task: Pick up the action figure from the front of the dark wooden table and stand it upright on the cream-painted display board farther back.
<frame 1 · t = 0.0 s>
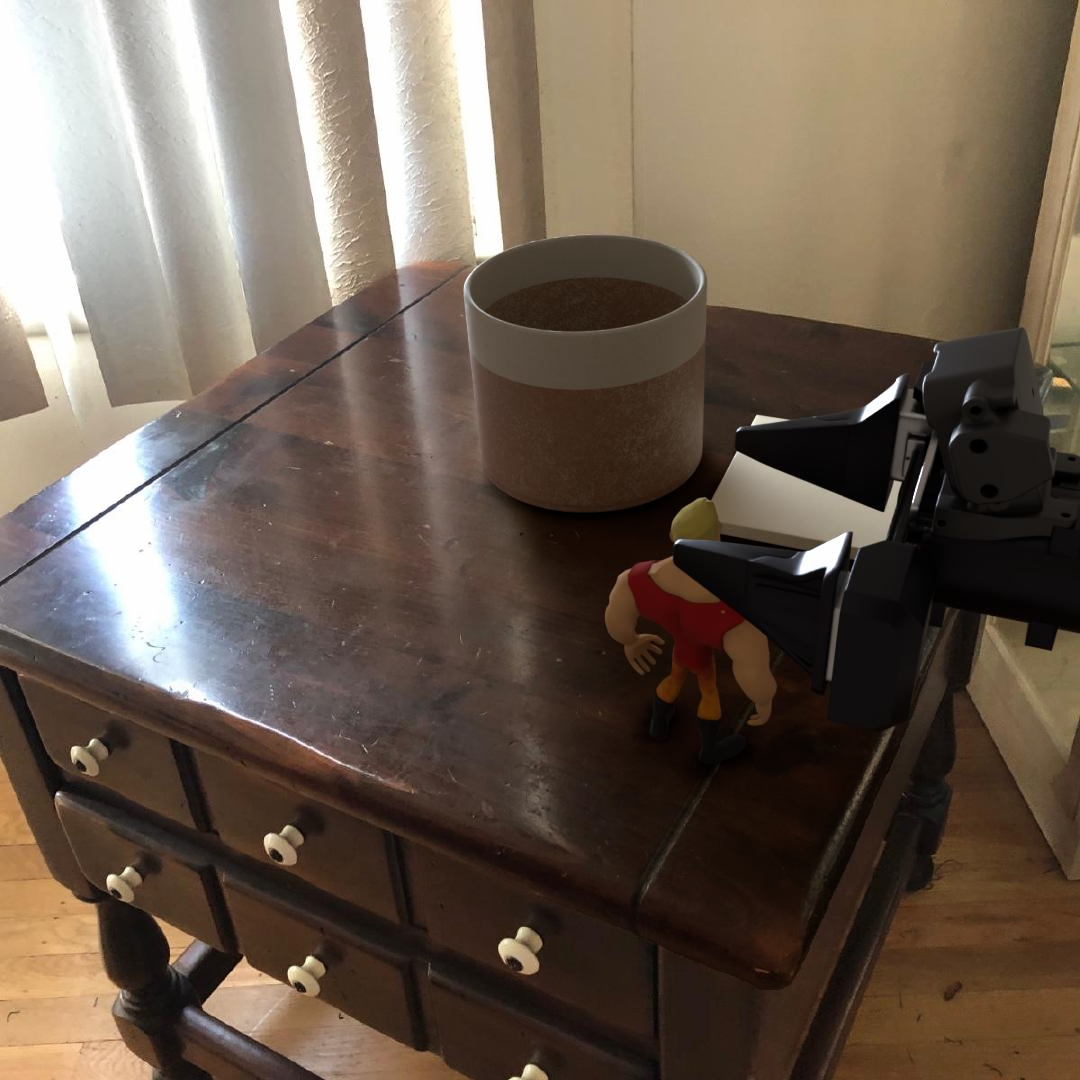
hand: (706, 491, 50), 16 cm above the table, tool horizontal, fingers open, 9 cm apart
display board: (816, 490, 78), on the table
action figure: (692, 741, 60), on the table
planter: (591, 460, 83), on the table
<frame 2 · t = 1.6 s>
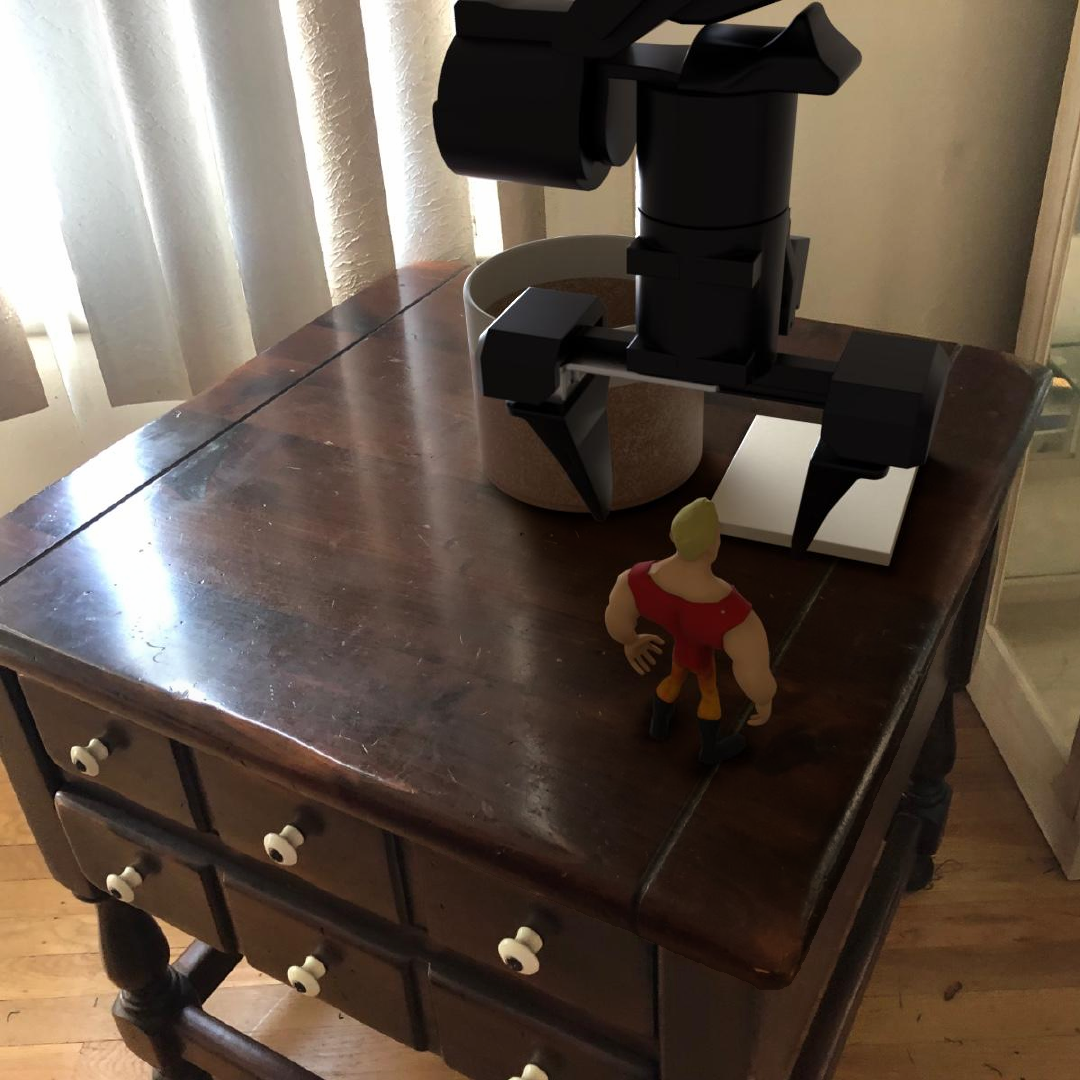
hand: (697, 535, 53), 13 cm above the table, tool pointing down, fingers open, 9 cm apart
nothing on the table moved.
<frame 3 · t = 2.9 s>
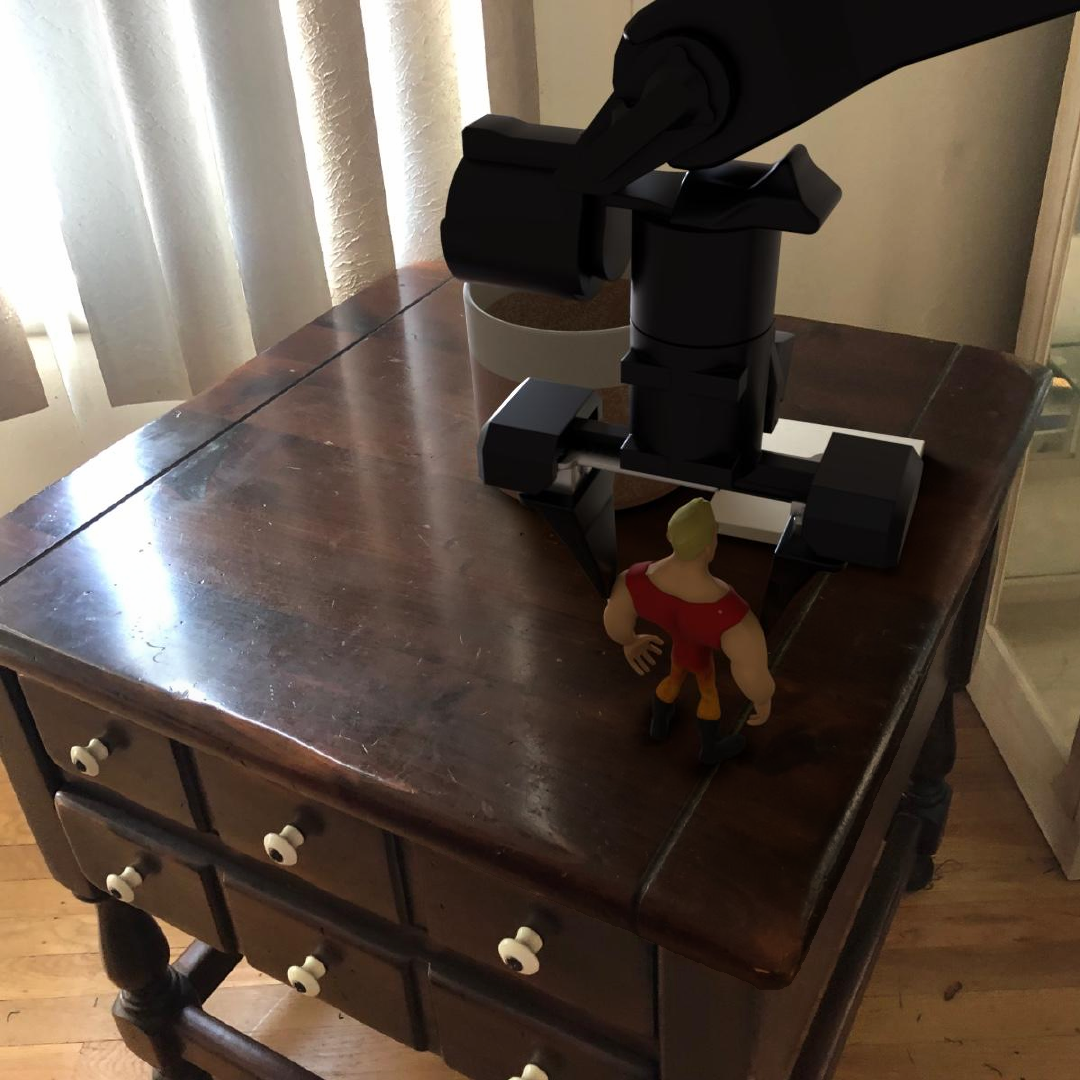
hand: (685, 612, 56), 8 cm above the table, tool pointing down, fingers closed on action figure, 7 cm apart
action figure: (692, 741, 60), on the table, touching gripper
everything else where it was.
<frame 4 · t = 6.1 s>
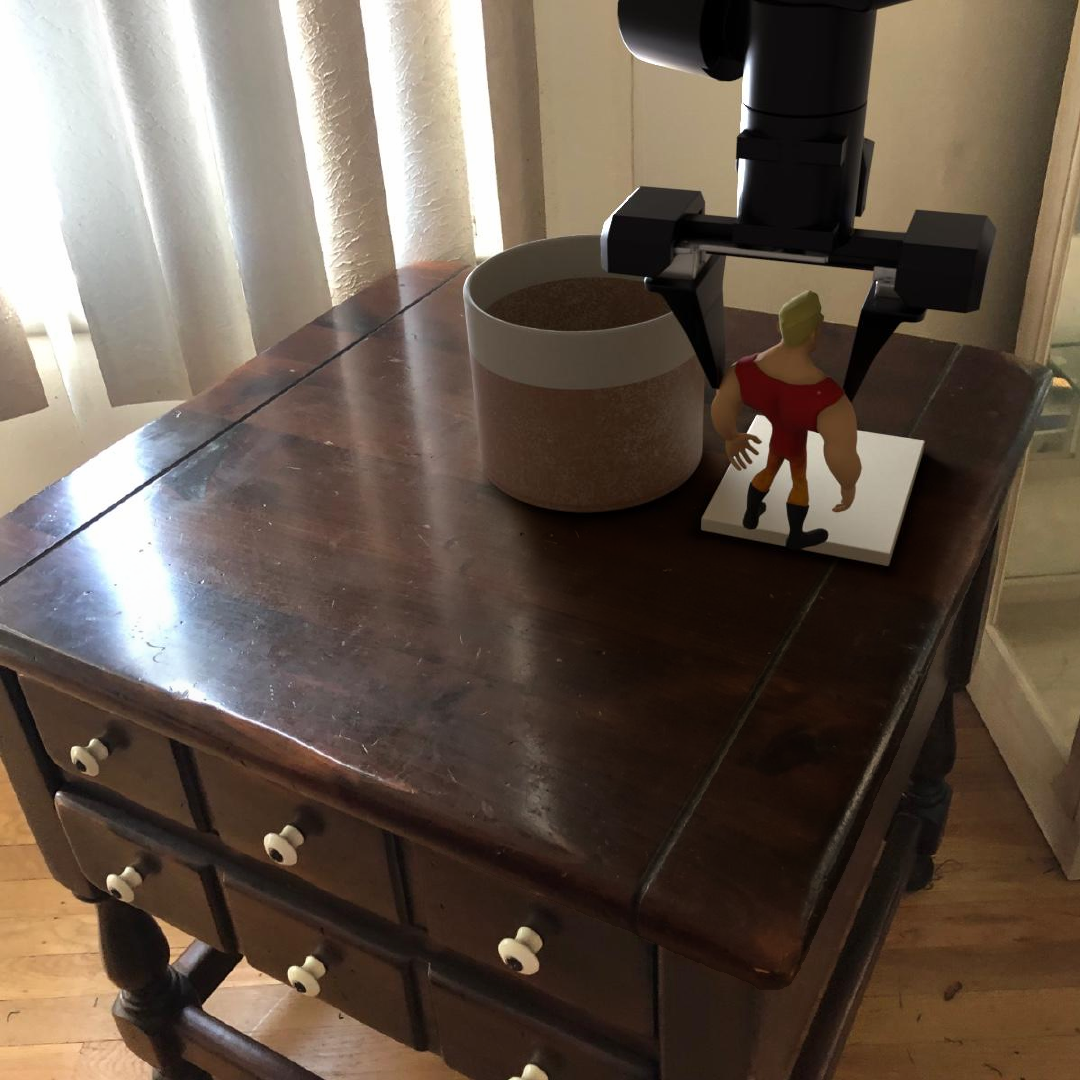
hand: (781, 394, 63), 13 cm above the table, tool pointing down, fingers closed on action figure, 7 cm apart
action figure: (780, 533, 67), point 4 cm above the table, touching gripper
everything else where it was.
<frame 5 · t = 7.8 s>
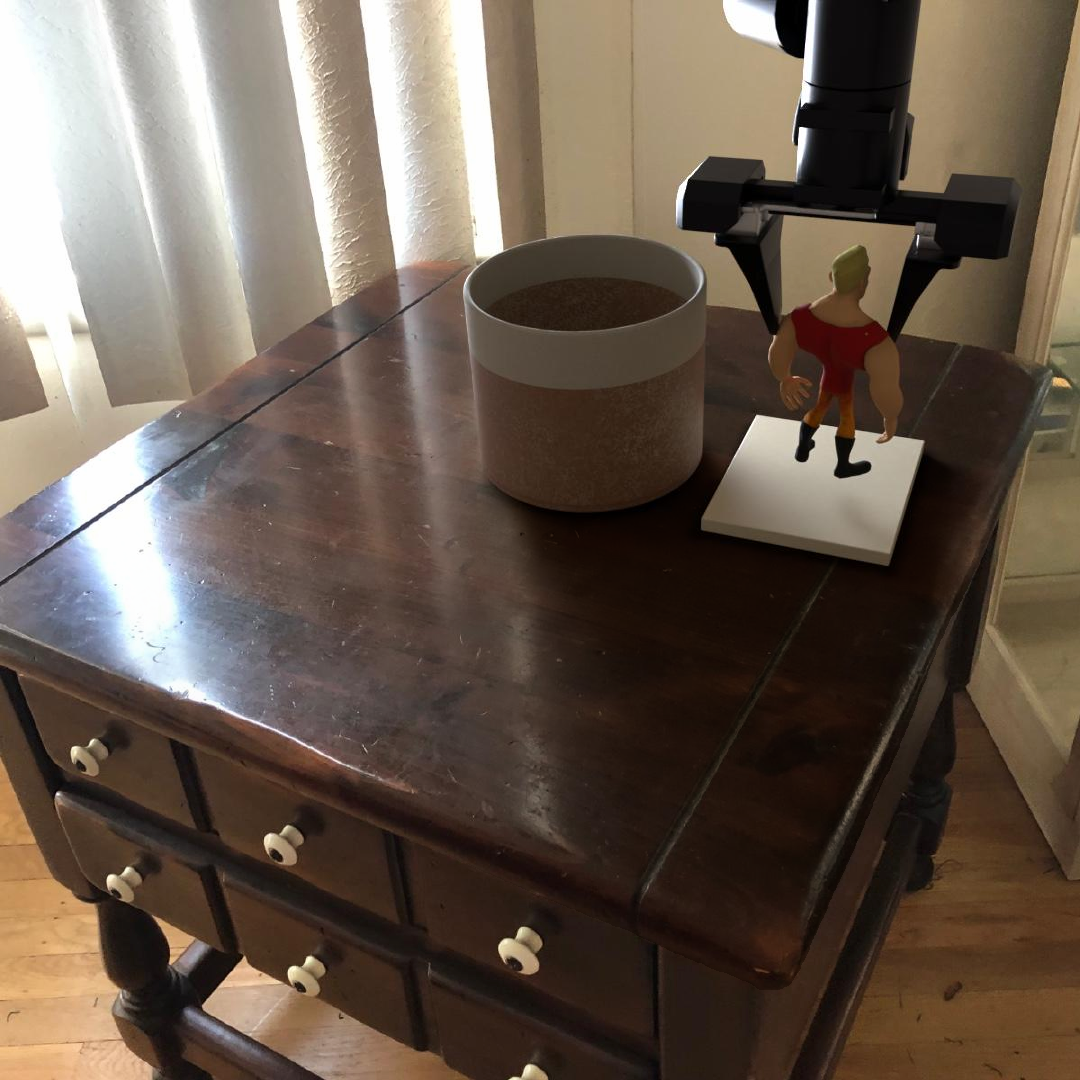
hand: (831, 339, 72), 11 cm above the table, tool pointing down, fingers closed on action figure, 7 cm apart
action figure: (828, 466, 76), point 2 cm above the table, touching gripper
everything else where it was.
when the fingers open (10 cm above the table, at t = 9.3 s): action figure stays where it is, resting on display board.
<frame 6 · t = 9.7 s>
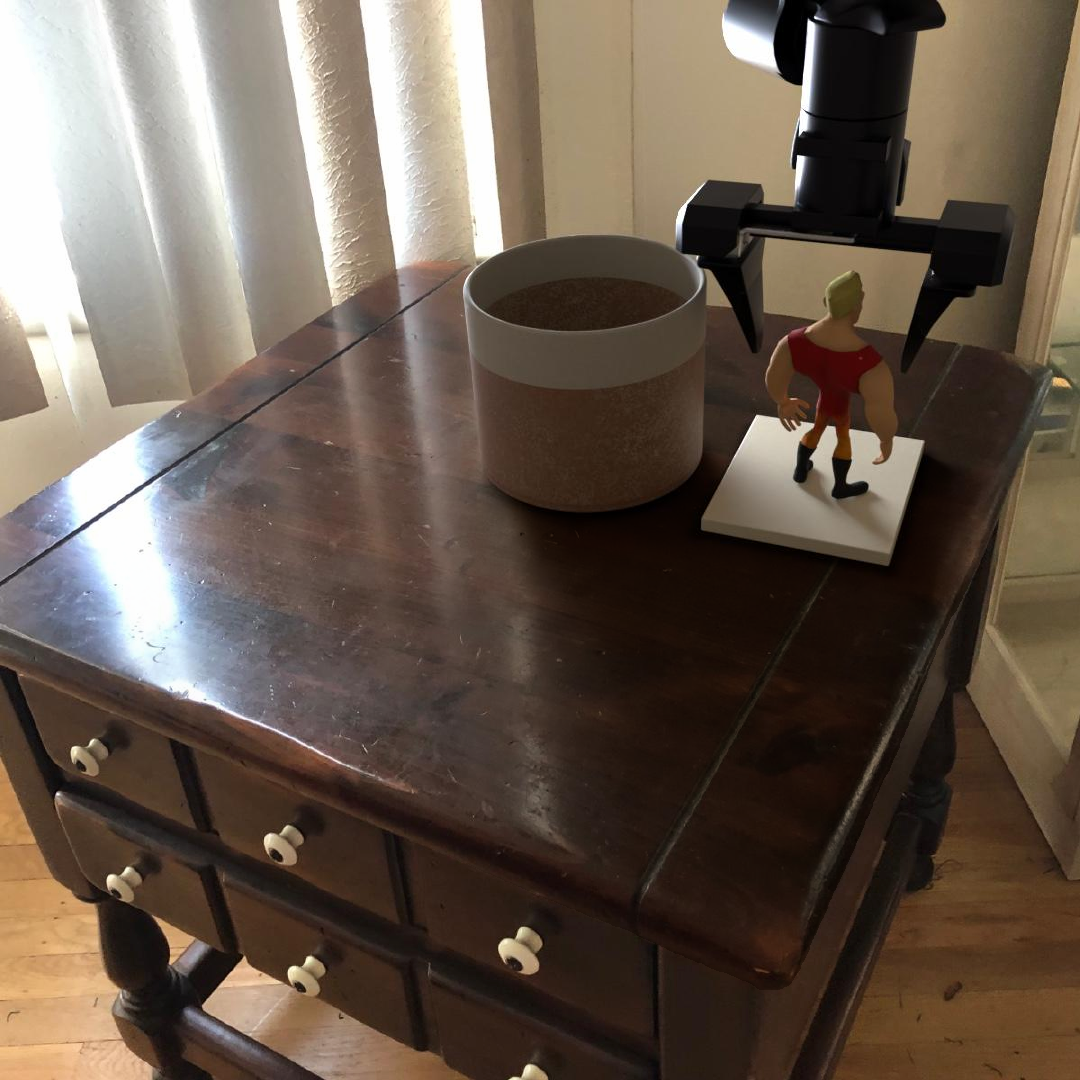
hand: (828, 360, 72), 10 cm above the table, tool pointing down, fingers open, 9 cm apart
action figure: (825, 486, 77), point 1 cm above the table, touching display board
everything else where it was.
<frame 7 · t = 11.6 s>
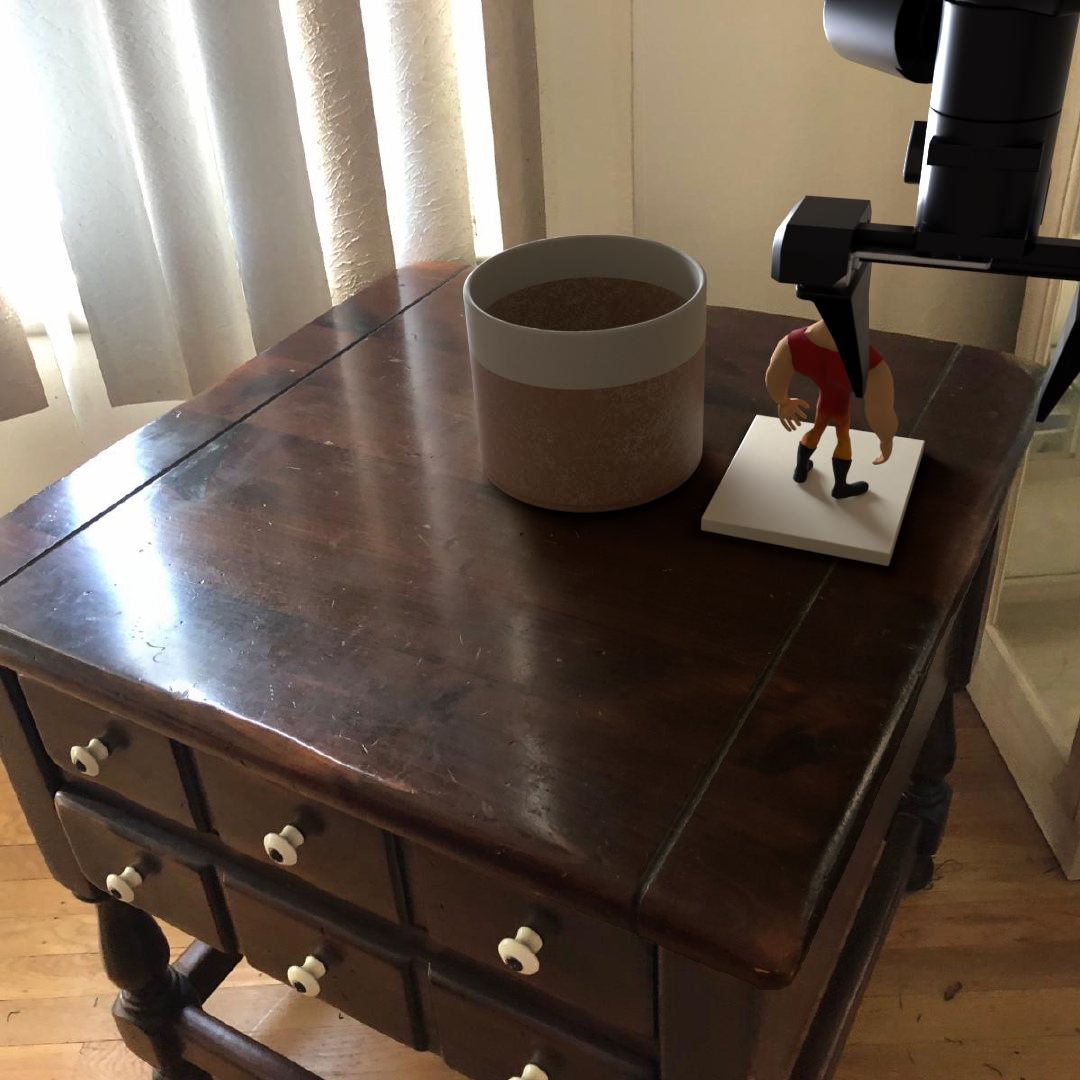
hand: (947, 406, 62), 13 cm above the table, tool pointing down, fingers open, 9 cm apart
nothing on the table moved.
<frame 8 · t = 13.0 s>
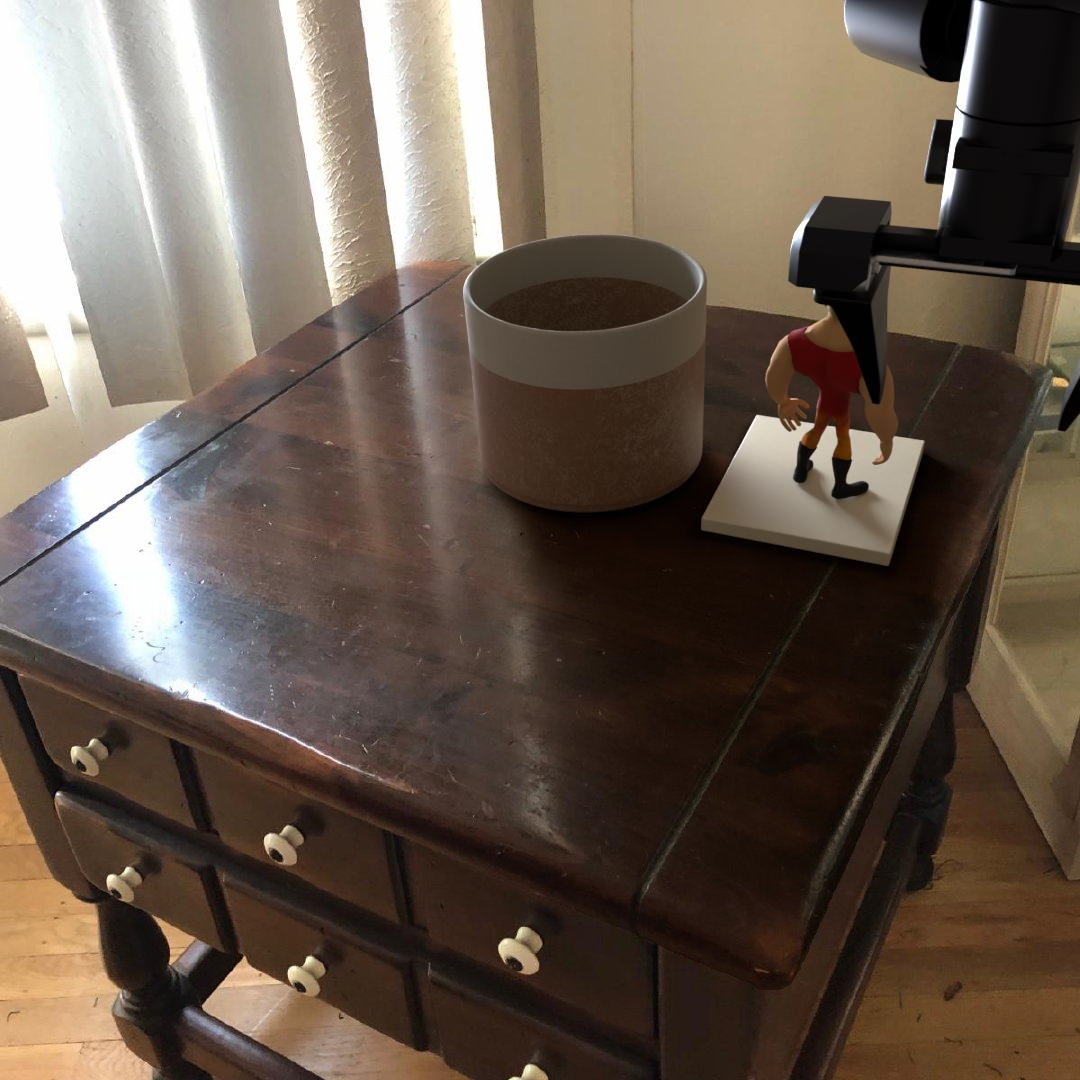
hand: (967, 413, 60), 13 cm above the table, tool pointing down, fingers open, 9 cm apart
nothing on the table moved.
at the end: action figure tilted 0°; action figure inside the target area on the display board (0.9 cm from its centre), point 0.8 cm above the display board's base; action figure moved 24.5 cm from its start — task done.
